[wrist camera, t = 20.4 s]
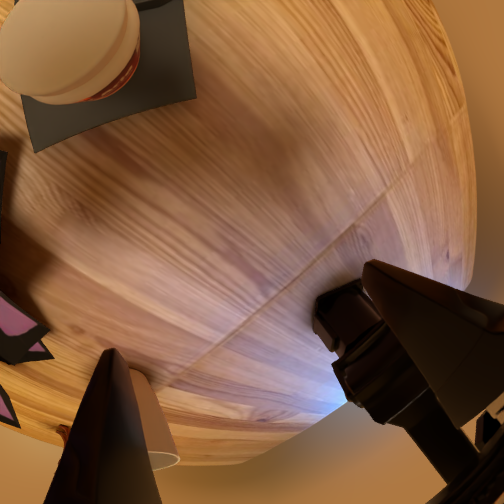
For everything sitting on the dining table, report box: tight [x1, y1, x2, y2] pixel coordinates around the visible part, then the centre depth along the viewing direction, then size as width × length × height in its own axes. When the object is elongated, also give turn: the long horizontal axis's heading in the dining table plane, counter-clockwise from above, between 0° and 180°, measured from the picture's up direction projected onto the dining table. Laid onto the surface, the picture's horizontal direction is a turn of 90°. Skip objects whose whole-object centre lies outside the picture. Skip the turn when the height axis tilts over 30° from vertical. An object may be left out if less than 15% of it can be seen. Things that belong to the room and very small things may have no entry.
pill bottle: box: [0, 0, 140, 105], centre depth 7 cm, size 5×5×8 cm
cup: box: [129, 369, 180, 471], centre depth 22 cm, size 8×8×10 cm
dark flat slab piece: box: [14, 0, 197, 153], centre depth 8 cm, size 11×14×3 cm
